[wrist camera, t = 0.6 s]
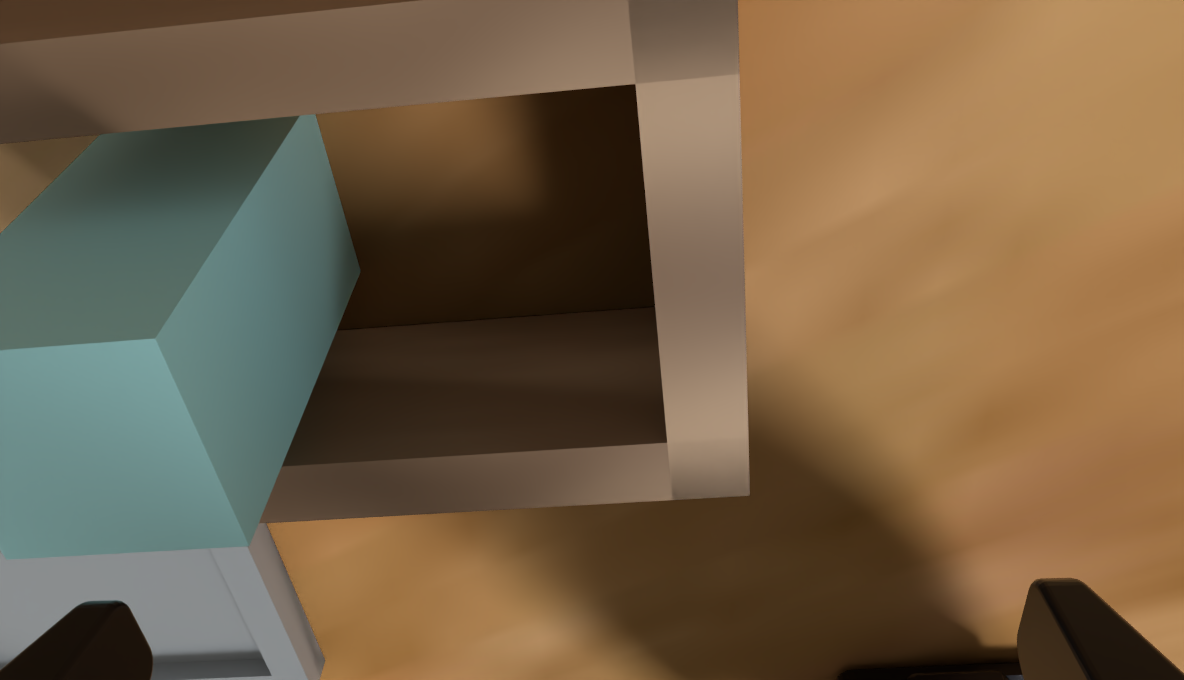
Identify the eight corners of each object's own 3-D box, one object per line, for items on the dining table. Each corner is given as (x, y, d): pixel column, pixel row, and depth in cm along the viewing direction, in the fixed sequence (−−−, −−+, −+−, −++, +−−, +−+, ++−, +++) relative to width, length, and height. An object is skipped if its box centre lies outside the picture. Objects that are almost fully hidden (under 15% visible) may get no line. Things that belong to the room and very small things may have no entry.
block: (360, 271, 22) (249, 546, 16) (186, 285, 22) (6, 559, 16) (311, 99, 20) (155, 338, 13) (117, 117, 20) (-127, 359, 14)
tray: (325, 660, 30) (315, 695, 29) (-77, 678, 31) (-99, 712, 30) (202, 375, 24) (184, 407, 23) (-297, 410, 25) (-335, 442, 24)
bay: (730, 355, 23) (750, 496, 19) (229, 390, 24) (158, 529, 20) (714, -108, 17) (737, -33, 13) (52, -36, 18) (-93, 53, 15)
